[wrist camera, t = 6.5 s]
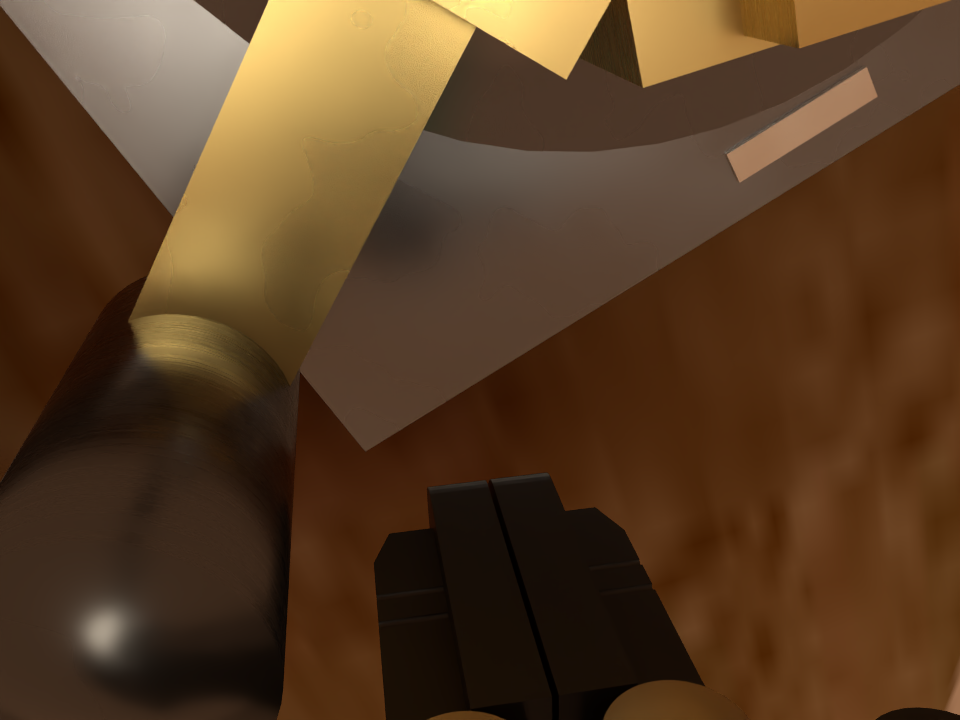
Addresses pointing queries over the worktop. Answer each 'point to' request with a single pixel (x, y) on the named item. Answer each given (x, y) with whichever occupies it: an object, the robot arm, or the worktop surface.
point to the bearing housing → (504, 174)
